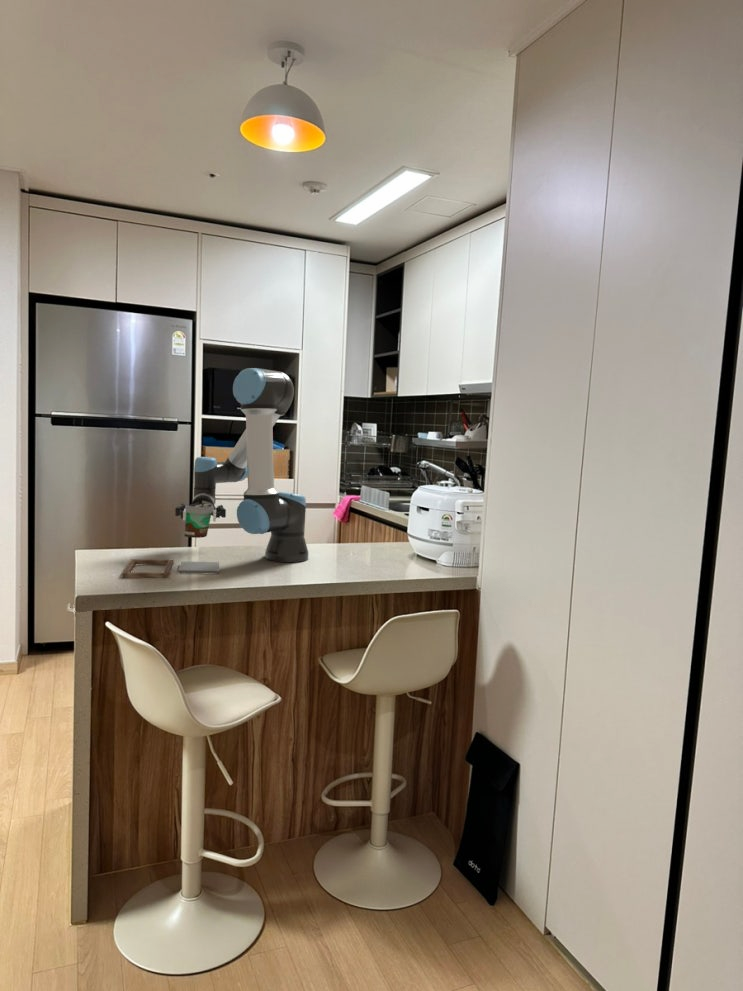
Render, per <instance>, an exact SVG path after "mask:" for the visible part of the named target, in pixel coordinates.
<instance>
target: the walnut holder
mask: <svg viewBox="0 0 743 991" xmlns="http://www.w3.org/2000/svg"><path fill="white" fill-rule="evenodd" d="M174 561H175V560H174V559H159V558H158V559H156V558H155V559H154V558H153V559H152V558H151V559H147V558H144V559H143V558H141V559H139V558H138V559H136V558H131V559H130V561H129V562H128V564H127V565H126V567H125V568H124V570H123V571H122V574H121V579H140V578H168V579H169V577H170V574H171V572H172V569H173V567H172V566H174ZM136 564H143V565H142V566H165V568H164V569H163V572H161V571H160V572H157V571H154V572H153V571H152V572H149V571H146V572H144V571H143V572H139V571H134V572H133V570H134V569H135V567H136V566H137V565H136ZM144 564H146V565H144ZM162 564H163V565H162ZM133 568H134V569H133ZM131 571H132V572H131ZM170 571H171V572H170Z"/></svg>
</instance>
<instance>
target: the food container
mask: <svg viewBox="0 0 743 991" xmlns="http://www.w3.org/2000/svg"><path fill="white" fill-rule="evenodd" d="M186 505H187V504H186ZM213 512H214V507H213V504H212V503H209V502H206V501H202V504H199V505H198V504H196V505H194V506H189V505H187V508H186V520H185V524H184V525H185V527H184V537H186V538H195V539H196V538H197V539H198V538H199V539H200V538H201V539H202V538H206V537H207V536H208V531H209V526H210V522H211V518H212V515H211V513H213Z"/></svg>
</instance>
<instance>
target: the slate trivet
mask: <svg viewBox="0 0 743 991" xmlns="http://www.w3.org/2000/svg"><path fill="white" fill-rule="evenodd" d="M219 569H220V561H180V565H179V568H178V572H177V573H218V574H219V571H218V570H219Z"/></svg>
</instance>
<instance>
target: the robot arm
mask: <svg viewBox="0 0 743 991" xmlns="http://www.w3.org/2000/svg"><path fill="white" fill-rule="evenodd" d="M232 394H233V397H234V399H235V400H236V401H237V403H239V404H240V411H241V412H242V413H243V414H244V415H245V429H244V431H243V433H242V435H241V436H240V437H239V439H238V441H237V442H236V444H235V446H234V447H233V448H232V450H231V452H230V454H229V455H228V457H227V458H226V460H225V461H218V460H217V458H215V457H213V456H211V457H210V456H198V457H196V458H195V460H194V467H193V472H194V473H193V500H192V502H191V504H189V505H188V506H194V505H196V504H198V505H199V504H202V501H206V502H209V503H212V504H213V507H214V512H213V513H211V517H212V522H216V521H217V519H220V518H226V517H227V516H226V515H227V512H226V511H227V510H226V509H225V508H224V505H222V504H220V505H217V506H215V505H216V499H217V498H216V489H217V488H216V487H217V484H221V483H222V484H223V483H237V482H242V481H244V480H246V478H247V489H246V490H245V491H244V492H243V500H242V501H241V502H240V503H238V506H237V508H236V518H237V523H238V524H239V526H240V527H241V528H242V529H243V530H244V532H246V533H248V534H251V535H264V534H266V533H270V537H269V541H268V543H267V545H266V549H265V550H264V552H265V554H264V557H265V559H266V560H269V561H271V562H272V561H273V562H278V563H280V562H281V563H298V562H301V563H302V562H305V561H308V560H309V550H308V549H309V548H308V545H307V543H306V542H307V541H306V539H305V531H306V530H305V528H306V511H307V510H306V508H307V505H306V503H307V502H306V500H307V499H306V496H304V495H303V494H298V493H293V492H292V493H289V492H284V491H283V492H282V491H278V490H277V489H276V488H275V476H274V475H275V474H274V471H275V470H274V467H275V466H274V439H273V438H274V436H273V435H274V434H273V427H274V426H275V425H276V424H277V421H278V420H279V418H280V417H281V416H285V415H286V413H287V412H288V410H289V409H290V407H291V404H292V402H293V399H294V395H295V387H294V384H293V381H292V379H291V378H290V377H289V376H288V374H286V373H285V372H282V371H279V370H271V369H265V368H259V367H258V368H257V367H254V368H253V367H251V368H250V367H248V368H245V369H242V370H241V371H240V372H238V375H237V376H235V378H234V381H233V384H232ZM217 461H218V462H217ZM186 508H187V504H185V503H180V505H178V506H177V507H175V508H174V509H175V510H174V511H175V512H174V514H175V517H178V516H180V519H181V520H182V521H185V522H186Z"/></svg>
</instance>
